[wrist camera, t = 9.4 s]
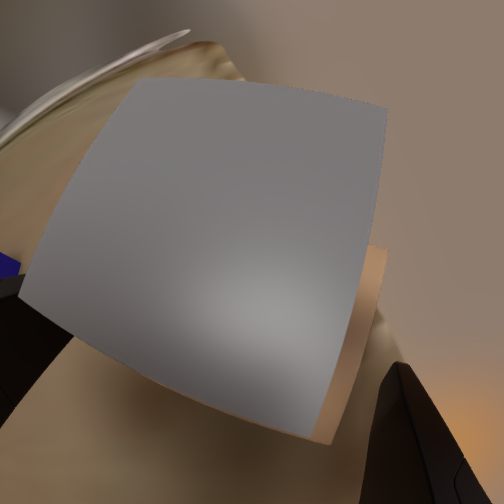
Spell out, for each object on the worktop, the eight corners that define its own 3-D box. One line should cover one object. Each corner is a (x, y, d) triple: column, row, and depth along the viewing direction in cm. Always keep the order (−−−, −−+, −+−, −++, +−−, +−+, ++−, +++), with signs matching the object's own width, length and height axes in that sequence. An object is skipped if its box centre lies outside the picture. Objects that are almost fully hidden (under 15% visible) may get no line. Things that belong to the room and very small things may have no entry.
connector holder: (322, 429, 14) (330, 445, 11) (165, 372, 17) (138, 373, 13) (372, 270, 17) (388, 250, 14) (221, 227, 19) (207, 200, 16)
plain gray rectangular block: (295, 376, 15) (309, 438, 3) (214, 348, 16) (17, 296, 4) (321, 294, 16) (387, 109, 4) (242, 271, 17) (139, 77, 5)
